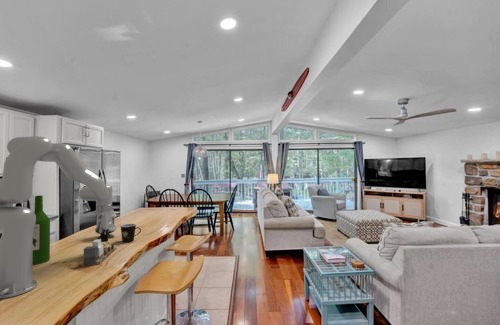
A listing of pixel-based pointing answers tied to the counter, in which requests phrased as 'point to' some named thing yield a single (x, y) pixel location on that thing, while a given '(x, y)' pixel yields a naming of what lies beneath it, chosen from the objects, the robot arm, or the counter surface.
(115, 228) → the apothecary jar
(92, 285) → the counter surface
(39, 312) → the counter surface
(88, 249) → the pegged board
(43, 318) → the counter surface
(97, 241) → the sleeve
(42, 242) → the wine bottle
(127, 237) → the coffee mug
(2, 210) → the robot arm
